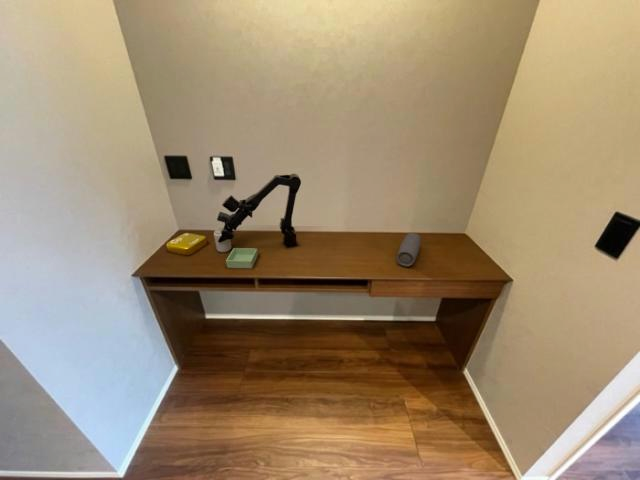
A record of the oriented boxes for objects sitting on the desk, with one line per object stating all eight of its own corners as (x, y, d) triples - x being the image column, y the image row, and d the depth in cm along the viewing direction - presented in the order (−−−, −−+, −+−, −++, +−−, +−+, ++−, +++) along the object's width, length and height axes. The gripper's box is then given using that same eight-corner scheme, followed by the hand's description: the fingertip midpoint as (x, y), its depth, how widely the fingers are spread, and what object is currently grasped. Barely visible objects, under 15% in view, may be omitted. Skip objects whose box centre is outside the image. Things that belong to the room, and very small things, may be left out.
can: (227, 253, 138) (223, 233, 133) (214, 252, 139) (210, 232, 134) (234, 247, 145) (230, 227, 139) (221, 245, 146) (218, 226, 140)
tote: (257, 255, 138) (257, 248, 136) (252, 268, 127) (251, 261, 125) (234, 254, 138) (233, 248, 136) (227, 267, 127) (225, 260, 125)
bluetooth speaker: (402, 245, 149) (405, 230, 144) (419, 249, 145) (423, 233, 140) (393, 265, 130) (397, 248, 126) (413, 270, 127) (417, 253, 122)
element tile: (189, 256, 136) (186, 248, 133) (166, 251, 140) (163, 243, 138) (208, 243, 148) (207, 235, 146) (187, 238, 152) (185, 231, 150)
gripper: (227, 201, 139) (209, 221, 143) (222, 214, 123) (202, 237, 127) (244, 214, 145) (226, 233, 148) (242, 228, 128) (222, 249, 132)
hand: (219, 237), depth 138 cm, fingers open, 9 cm apart
